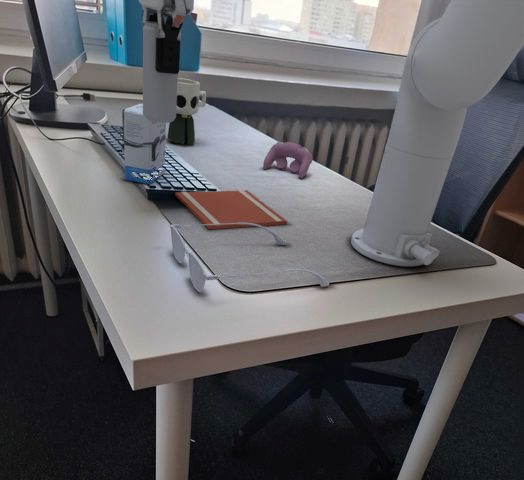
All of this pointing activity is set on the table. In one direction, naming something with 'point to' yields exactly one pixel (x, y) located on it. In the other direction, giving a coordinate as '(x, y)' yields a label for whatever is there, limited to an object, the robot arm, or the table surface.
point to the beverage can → (157, 81)
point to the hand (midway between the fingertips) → (160, 67)
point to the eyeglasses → (200, 276)
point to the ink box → (143, 144)
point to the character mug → (186, 111)
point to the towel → (229, 209)
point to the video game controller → (293, 151)
